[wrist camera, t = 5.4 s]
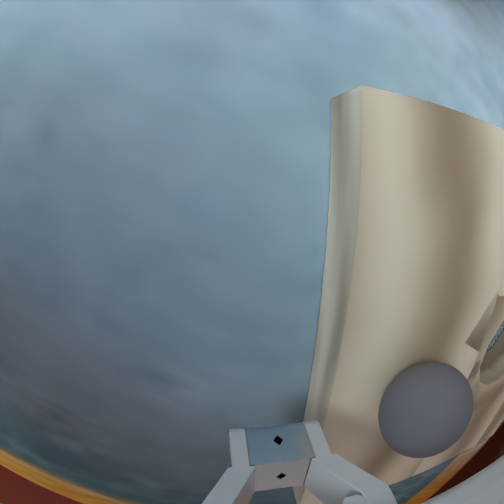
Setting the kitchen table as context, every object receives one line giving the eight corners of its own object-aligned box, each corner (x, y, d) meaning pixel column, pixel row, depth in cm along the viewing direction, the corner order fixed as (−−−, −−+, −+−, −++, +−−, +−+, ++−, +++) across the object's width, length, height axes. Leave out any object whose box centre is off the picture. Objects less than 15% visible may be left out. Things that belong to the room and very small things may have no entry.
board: (290, 481, 16) (298, 509, 14) (331, 98, 10) (361, 85, 8) (478, 419, 18) (492, 434, 16) (552, 165, 12) (578, 170, 10)
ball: (354, 422, 12) (389, 489, 8) (375, 352, 10) (430, 422, 7) (423, 403, 12) (464, 455, 8) (449, 335, 11) (507, 386, 7)
